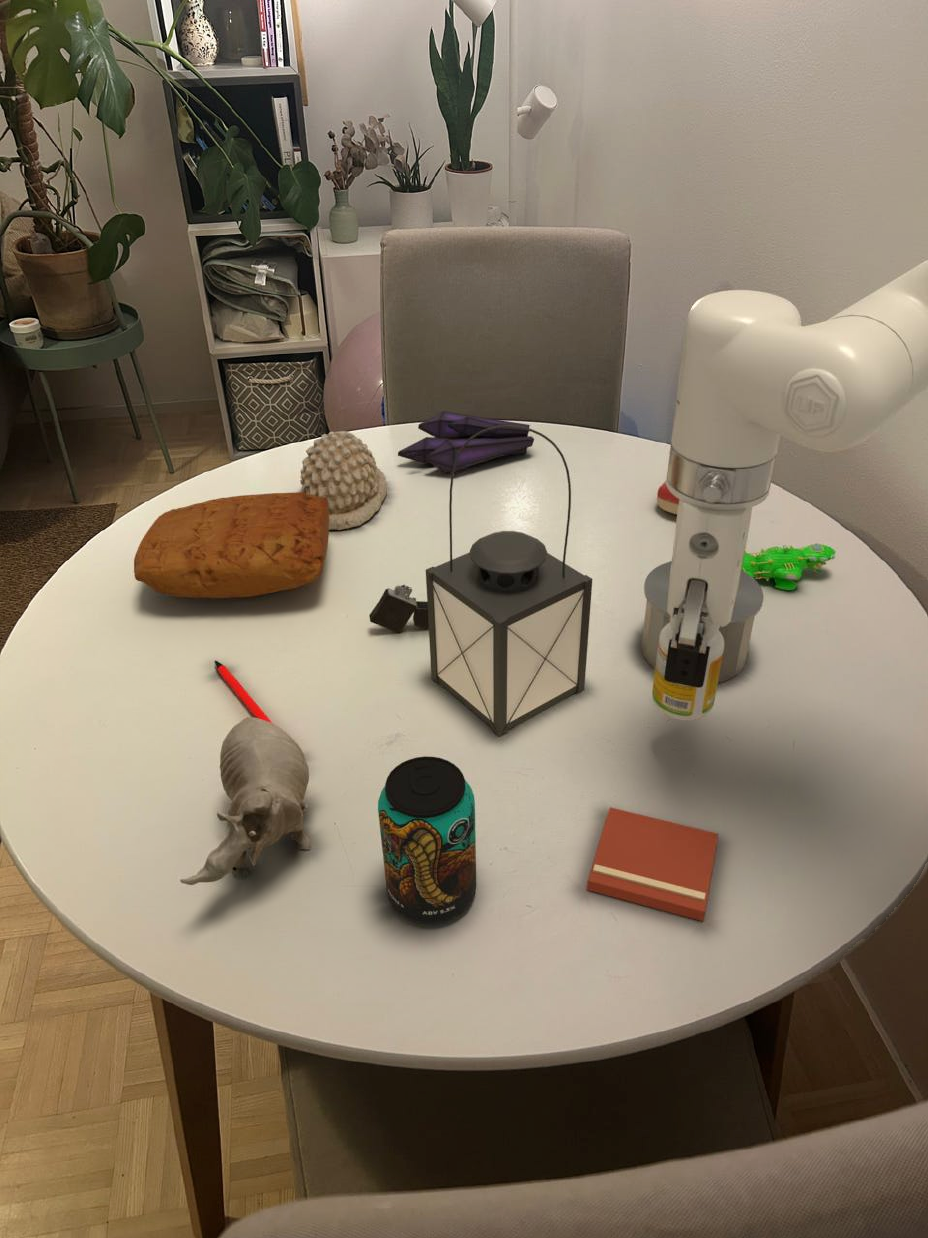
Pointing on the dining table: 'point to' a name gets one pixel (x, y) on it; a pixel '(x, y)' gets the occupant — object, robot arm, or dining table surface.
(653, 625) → the pot
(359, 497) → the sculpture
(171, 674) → the dining table surface
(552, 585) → the lantern
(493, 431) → the crystal
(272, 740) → the grey rounded figure
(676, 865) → the book
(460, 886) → the beverage can
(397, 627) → the lighter
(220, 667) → the pen
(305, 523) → the cuneiform tablet
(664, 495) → the toy boat
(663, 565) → the pot lid
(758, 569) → the green elongated plastic piece
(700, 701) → the supplement bottle
